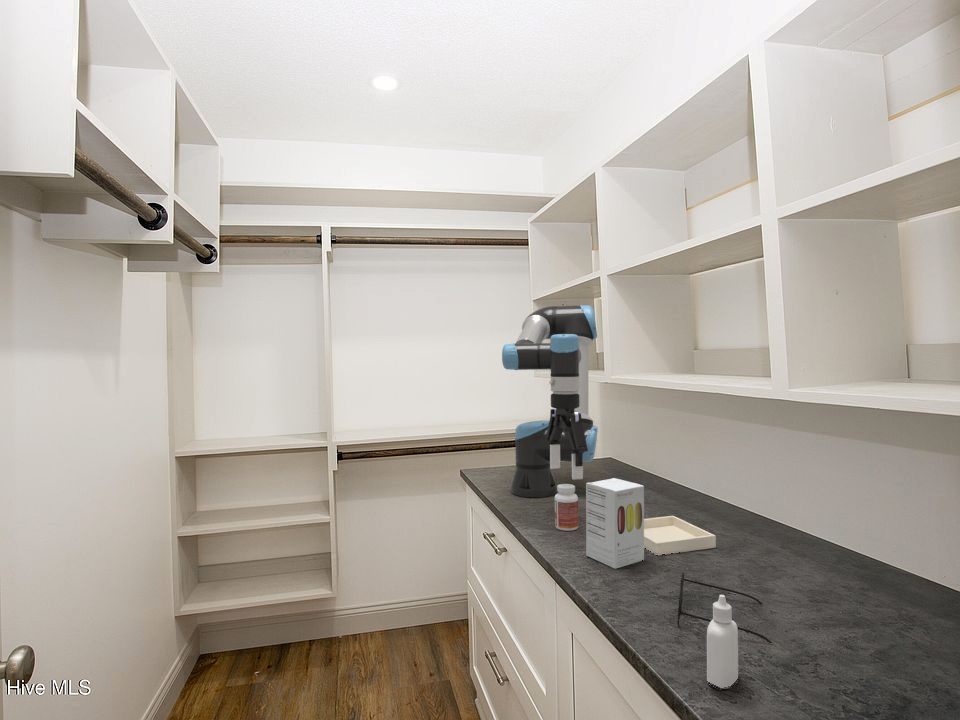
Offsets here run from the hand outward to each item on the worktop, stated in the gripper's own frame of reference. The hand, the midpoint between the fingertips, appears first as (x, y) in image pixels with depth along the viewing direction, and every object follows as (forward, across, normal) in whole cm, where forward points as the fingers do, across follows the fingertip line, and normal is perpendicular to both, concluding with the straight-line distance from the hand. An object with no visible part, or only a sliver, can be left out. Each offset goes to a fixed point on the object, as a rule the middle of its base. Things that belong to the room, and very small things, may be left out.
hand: (565, 473), depth 140 cm
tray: (+14, +16, +19) cm, 29 cm away
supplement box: (+15, +22, +2) cm, 26 cm away
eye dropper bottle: (+16, +66, -7) cm, 68 cm away
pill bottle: (+15, 0, 0) cm, 15 cm away
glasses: (+16, +50, +6) cm, 53 cm away
